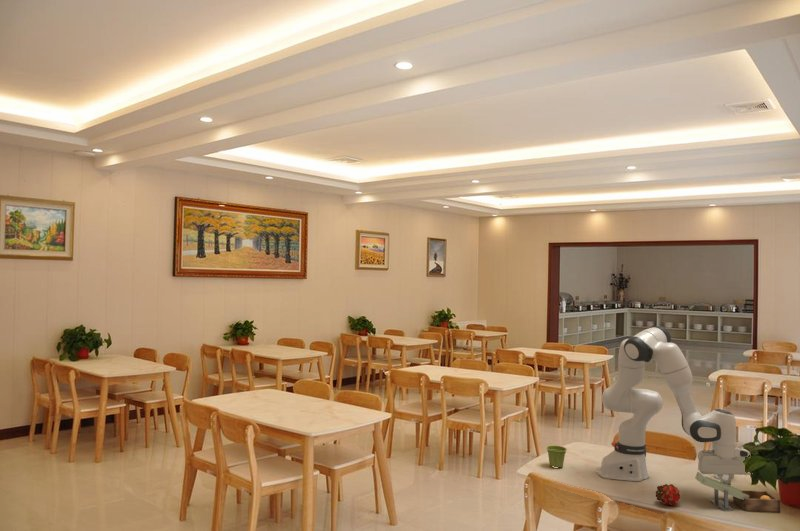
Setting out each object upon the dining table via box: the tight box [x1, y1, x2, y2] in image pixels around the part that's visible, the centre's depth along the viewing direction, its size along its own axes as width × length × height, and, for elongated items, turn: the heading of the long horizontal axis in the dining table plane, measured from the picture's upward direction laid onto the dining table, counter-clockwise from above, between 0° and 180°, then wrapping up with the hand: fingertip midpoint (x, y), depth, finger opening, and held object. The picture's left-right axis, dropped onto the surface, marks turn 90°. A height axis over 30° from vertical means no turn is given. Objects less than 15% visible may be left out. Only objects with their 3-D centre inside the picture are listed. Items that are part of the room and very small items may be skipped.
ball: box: [760, 495, 771, 499], centre depth 238 cm, size 4×4×4 cm
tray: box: [732, 489, 781, 513], centre depth 238 cm, size 13×10×4 cm
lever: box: [694, 471, 749, 500], centre depth 243 cm, size 18×13×3 cm
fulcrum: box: [709, 488, 734, 512], centre depth 240 cm, size 4×10×7 cm, turn 175°
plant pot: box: [546, 445, 568, 467], centre depth 288 cm, size 9×9×9 cm
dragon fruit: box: [655, 483, 682, 507], centre depth 241 cm, size 8×8×12 cm
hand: (725, 485), depth 246 cm, fingers closed
